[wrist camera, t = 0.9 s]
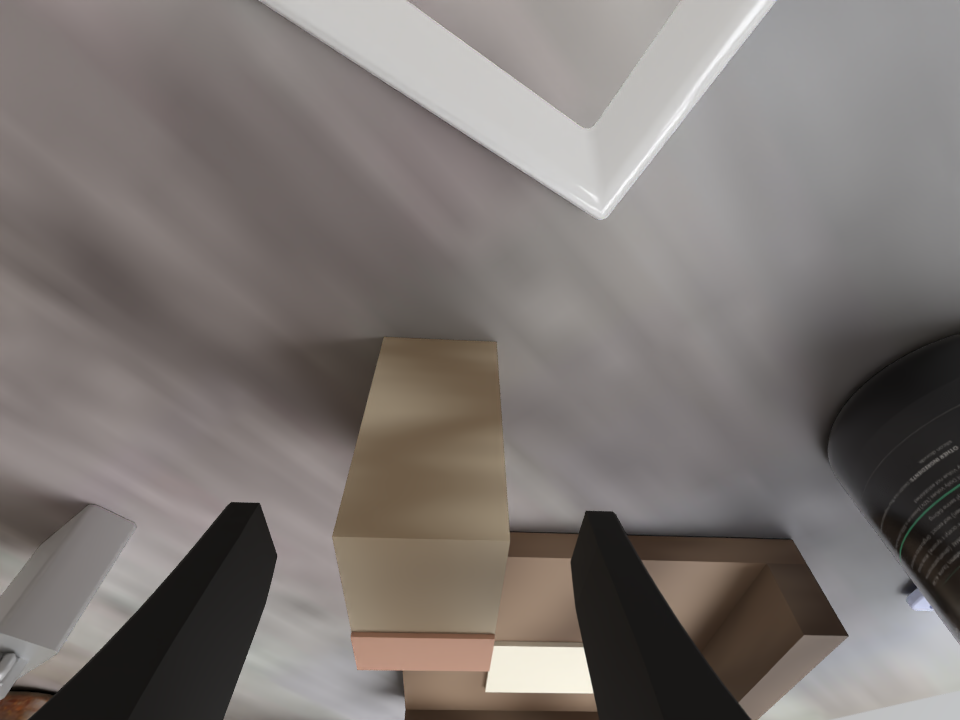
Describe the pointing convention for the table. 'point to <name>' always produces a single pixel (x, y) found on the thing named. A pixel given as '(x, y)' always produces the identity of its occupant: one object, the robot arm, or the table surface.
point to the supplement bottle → (909, 467)
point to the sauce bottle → (21, 704)
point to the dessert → (523, 114)
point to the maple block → (426, 510)
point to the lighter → (56, 589)
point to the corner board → (690, 594)
